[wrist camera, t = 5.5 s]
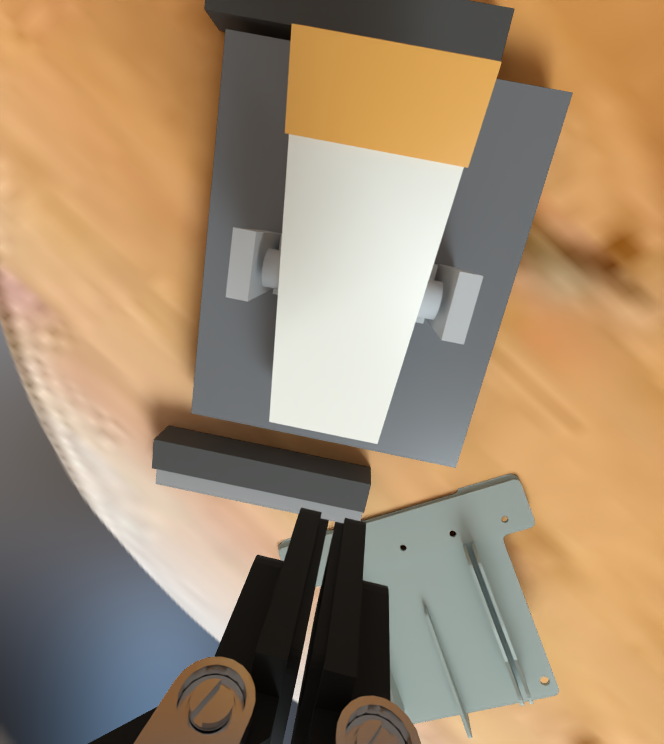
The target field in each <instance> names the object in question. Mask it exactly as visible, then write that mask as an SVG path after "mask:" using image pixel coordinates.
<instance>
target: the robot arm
mask: <svg viewBox="0 0 664 744" xmlns="http://www.w3.org/2000/svg"><path fill="white" fill-rule="evenodd" d="M321 514H322V512H319V511H315V510H310V509H306V508H302V507H301V509H300V512H299V515H298V518H297V521H296V524H295V527H294V531H293V534H292V537H291V540H290V543H289V546H288V549H287V553H286V556H285V559H284V561H281V560H277V559H273V558H269V557H265V556H261V555H257V556H256V558H255V560H254V562H253V565H252V567H251V569H250V572H249V574H248V577H247V579H246V582H245V584H244V586H243V589H242V591H241V594H240V596H239V598H238V601H237V603H236V606H235V608H234V611H233V613H232V615H231V618H230V620H229V623H228V625H227V628H226V630H225V632H224V635H223V637H222V640H221V642H220V645H219V647H218V649H217V652H216V654H215V657H208V658H205V659H202V660H200V661H197V662H195V663H193V664H192V665H190V666H189V667H187V668H186V669H184V671H183V672H182V673H181V674H180V675H179V676H178V677H177V679H176V680H175V681H174V683H173V684H172V686H171V687H170V689H169V690H168V692H167V693H166V695H165V696H164V698H163V699H162V701H161V702H160V704H159V706H158V707H156V708H154V709H152V710H150V711H148V712H147V713H145V714H143V715H141V716H139V717H137V718H135V719H134V720H132V721H130V722H128V723H126V724H124V725H122V726H120V727H119V728H117V729H115V730H113V731H111V732H109V733H107V734H105V735H103V736H102V737H100V738H98V739H96V740H94V741H92V742H90V743H88V744H282V743H283V739H284V734H285V730H286V725H287V720H288V716H289V711H290V706H291V702H292V698H293V693H294V688H295V684H296V679H297V675H298V670H299V665H300V661H301V656H302V651H303V646H304V641H305V636H306V631H307V626H308V621H309V616H310V611H311V606H312V601H313V596H314V591H315V586H316V581H317V576H318V571H319V566H320V561H321V556H322V551H323V546H324V541H325V536H326V531H327V526H328V521H329V520H327V519H322V518H321ZM365 536H366V522H362V521H358V520H353V519H349V518H345V519H344V523H339V522H335V526H334V530H333V535H332V539H331V544H330V548H329V553H328V557H327V562H326V566H325V571H324V575H323V580H322V584H321V589H320V593H319V598H318V602H317V607H316V612H315V617H314V622H313V627H312V633H311V638H310V643H309V649H308V654H307V659H306V665H305V670H304V675H303V681H302V686H301V691H300V697H299V702H298V707H297V713H296V718H295V723H294V729H293V735H292V740H291V744H421V742H420V739H419V736H418V733H417V730H416V728H415V727H414V725H413V723H412V722H411V720H410V718H409V717H408V716H407V715H406V714H405V713H404V712H403V711H402V710H401V709H400V708H399V707H398V706H397V705H395V704H394V703H392V702H391V699H390V632H389V589H388V586H385V585H381V584H377V583H373V582H368V581H364V580H363V568H364V552H365Z"/></svg>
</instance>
